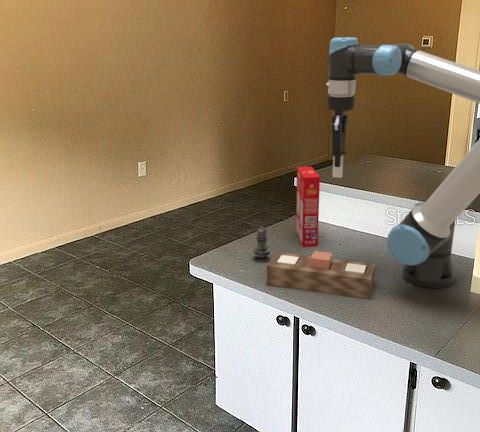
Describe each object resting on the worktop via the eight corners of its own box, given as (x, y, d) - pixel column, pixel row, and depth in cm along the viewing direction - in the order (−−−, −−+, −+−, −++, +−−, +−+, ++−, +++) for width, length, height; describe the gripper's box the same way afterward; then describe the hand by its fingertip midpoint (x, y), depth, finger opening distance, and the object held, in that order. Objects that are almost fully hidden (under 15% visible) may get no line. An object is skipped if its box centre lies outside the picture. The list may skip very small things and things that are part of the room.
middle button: (331, 266, 160) (332, 253, 158) (328, 273, 155) (328, 260, 153) (313, 263, 161) (314, 251, 160) (310, 271, 156) (310, 257, 155)
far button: (298, 269, 164) (299, 257, 162) (294, 277, 159) (294, 264, 157) (281, 267, 165) (281, 254, 164) (276, 274, 161) (277, 261, 159)
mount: (373, 282, 160) (375, 263, 158) (369, 298, 150) (371, 279, 148) (276, 269, 169) (277, 252, 167) (266, 284, 159) (266, 265, 158)
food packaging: (317, 246, 187) (319, 177, 179) (302, 247, 187) (304, 177, 178) (309, 231, 201) (311, 166, 193) (295, 232, 201) (297, 167, 192)
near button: (365, 278, 157) (366, 265, 156) (363, 286, 152) (363, 272, 151) (346, 276, 159) (347, 263, 158) (343, 283, 154) (344, 270, 153)
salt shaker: (261, 254, 181) (261, 220, 177) (274, 258, 177) (274, 224, 173) (249, 259, 177) (248, 225, 173) (262, 264, 173) (262, 229, 169)
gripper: (331, 92, 157) (328, 170, 165) (323, 97, 146) (320, 181, 153) (357, 93, 155) (353, 172, 163) (351, 98, 143) (346, 183, 151)
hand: (337, 176), depth 158 cm, fingers closed
